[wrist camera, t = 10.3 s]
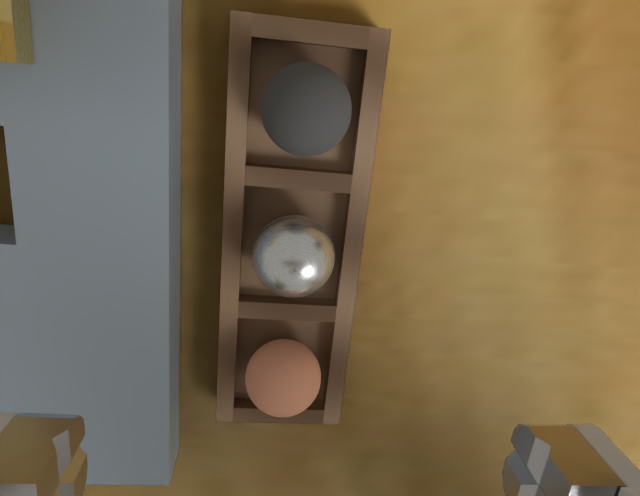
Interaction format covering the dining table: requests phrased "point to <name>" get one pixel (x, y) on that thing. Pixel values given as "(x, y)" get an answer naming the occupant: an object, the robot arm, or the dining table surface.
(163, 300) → the grey flat slab
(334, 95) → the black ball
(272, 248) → the steel ball
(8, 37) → the brass cover
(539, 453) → the robot arm
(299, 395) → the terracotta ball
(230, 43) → the rack
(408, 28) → the dining table surface
